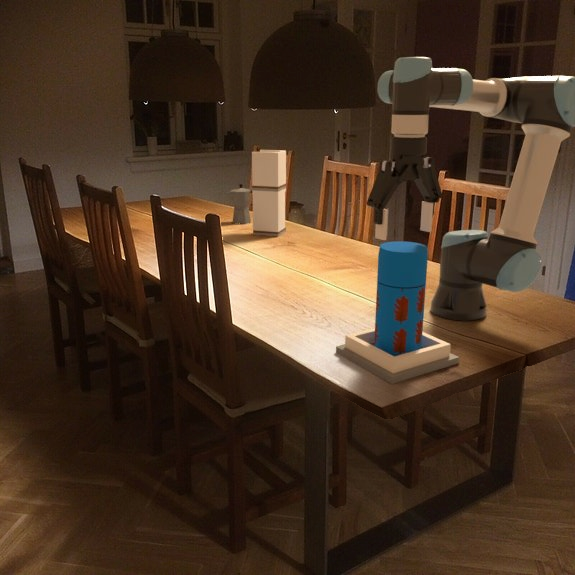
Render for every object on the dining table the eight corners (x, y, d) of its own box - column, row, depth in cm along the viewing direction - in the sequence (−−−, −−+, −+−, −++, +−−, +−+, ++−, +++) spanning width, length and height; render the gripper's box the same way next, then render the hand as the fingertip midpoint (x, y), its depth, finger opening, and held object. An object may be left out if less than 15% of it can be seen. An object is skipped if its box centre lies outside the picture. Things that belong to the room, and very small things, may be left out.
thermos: (429, 350, 147) (437, 246, 140) (405, 364, 140) (412, 255, 132) (390, 338, 154) (395, 239, 147) (364, 351, 146) (369, 247, 139)
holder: (399, 335, 160) (400, 319, 159) (458, 363, 144) (460, 344, 143) (335, 352, 150) (336, 334, 149) (392, 384, 134) (393, 364, 133)
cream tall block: (285, 231, 277) (286, 150, 267) (278, 236, 267) (278, 152, 257) (261, 230, 280) (260, 149, 270) (253, 235, 271) (251, 152, 260)
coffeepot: (232, 225, 290) (231, 186, 284) (224, 221, 298) (223, 183, 292) (262, 222, 296) (262, 184, 291) (254, 219, 304) (254, 181, 299)
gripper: (437, 132, 142) (431, 225, 148) (351, 137, 128) (348, 239, 135) (463, 134, 136) (455, 230, 142) (376, 139, 122) (372, 246, 129)
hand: (403, 235), depth 138 cm, fingers open, 13 cm apart
